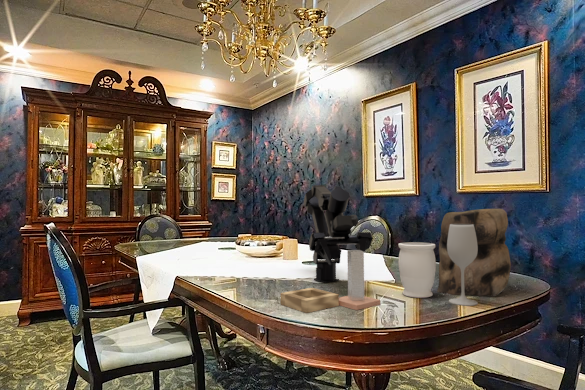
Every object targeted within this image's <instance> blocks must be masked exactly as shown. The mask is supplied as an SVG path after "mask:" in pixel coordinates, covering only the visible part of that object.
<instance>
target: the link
mask: <svg viewBox="0 0 585 390" xmlns="http://www.w3.org/2000/svg"><path fill="white" fill-rule="evenodd" d="M364 252H365V251H361V250H356V249H348V250H347V296H348V298H349V299H350V300H351V301H364V296H365V265H364V263H365V262H364V261H365V259H364V258H365V256H364V255H365V254H364Z"/></svg>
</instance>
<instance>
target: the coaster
mask: <svg viewBox="0 0 585 390" xmlns="http://www.w3.org/2000/svg"><path fill="white" fill-rule="evenodd" d="M380 305H381V299H377V298H374V297H369V296H366V295H364V301H351V300H350V299H349V298H348V295H343V296H339V306H341V307H343V308H348V309H351V310H355V311H359V310H363V309H369V308H372V307H376V306H380Z"/></svg>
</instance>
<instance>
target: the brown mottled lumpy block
mask: <svg viewBox="0 0 585 390" xmlns="http://www.w3.org/2000/svg"><path fill="white" fill-rule="evenodd" d="M450 224H473V225H474V228H475V232H476V238H477V245H478V252H477V256H476V258H475V259H474V261H473V262H472V263H470V264H469V265H468V266H467V267H466V268H465V270H464V293H465V296H475V297H485V296H486V297H496V296H498V295H499V294H500V293H501V292H503V291H504V289H506V287H507V285H508V283H509V280H510V274H511V267H512V264H511V258H510V257H511V256H510V250H509V247H508V246H507V244H506V242H507V238H506V233H507V229H508V225H509V220H508V214H507V212H506V211H505V209H503V208H482V209H471V210H470V209H469V210H466V211H451V212H447V213H445V214H444V216H443V218H442V221H441V226H440V228H441V229H440V230H441V232H440V234H441V236H440V238H439V242H438V244H439V245H438V254H439V264H438V287H437V290H436V292H437V293H441V294H446V295H453V296H461V292H462V289H461V269H460V267H459V266H458V265H456V264H455V263H454V262H453V261H452V260H451V258H450V257H449V255H448V251H447V240H448V232H449V227H450Z"/></svg>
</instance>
